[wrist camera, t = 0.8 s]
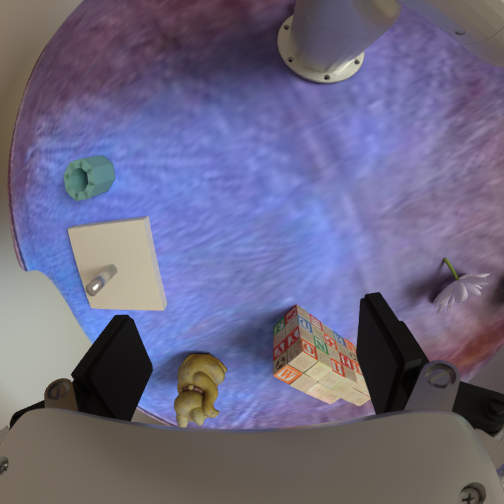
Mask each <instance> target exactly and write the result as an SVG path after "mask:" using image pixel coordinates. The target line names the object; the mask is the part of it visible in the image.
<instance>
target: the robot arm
mask: <svg viewBox="0 0 504 504" xmlns="http://www.w3.org/2000/svg"><path fill="white" fill-rule="evenodd" d="M402 5H404V6H405V7H407V8H409V9H412V10H413V11H415V12H416V13H418V14H420V15H421V16H423V17H424V18H426V19H427V20H429V21H430V22H432V23H433V24H434V25H436V26H437V27H439V28H440V29H441V30H443V31H444V32H445V33H447V34H448V35H449V36H451V37H452V38H453V39H454V40H456V41H457V42H458V43H460V44H461V45H462V46H463V47H465V48H466V49H467V50H468V51H470V52H471V53H472V54H473V55H475V56H476V57H478V58H479V59H481V60H482V61H484V62H486V63H488V64H490V65H493V66H498V67H504V0H296V5H295V10H294V14H293V15H292V16H290V17H289V18H287V19H286V20H285V22H284V23H283V24H282V26H281V27H280V29H279V33H278V37H277V45H278V50H279V53H280V56H281V58H282V59H283V61H284V63H285V64H286V65H287V66H288V67H289V68H290V69H291V70H292V71H293V72H295V73H296V74H297V75H299V76H301V77H302V78H304V79H307V80H309V81H312V82H317V83H323V84H331V83H338V82H342V81H344V80H346V79H348V78H350V77H351V76H353V75H354V74H355V73H356V72H357V71H358V70H359V69H360V67H361V65H362V63H363V60H364V52H365V49H367V48H368V47H369V46H370V45H371V44H372V43H373V42H375V41H376V40H377V39H378V38H379V37H381V36H382V35H383V34H384V33H385V32H386V31H388V30H389V29H390V28H391V27H392V26H393V25H394V24H395V23H396V21H397V20H398V18H399V15H400V12H401V6H402ZM285 28H287V29H288V30H286V29H285ZM289 60H291V61H292V62H289ZM354 62H356V63H357V65H356V64H355V63H354ZM324 77H326V78H327V80H325V79H324ZM356 356H357V360H358V363H359V366H360V369H361V371H362V374H363V377H364V380H365V383H366V386H367V389H368V392H369V395H370V398H371V401H372V404H373V407H374V410H375V413H376V415H371V416H365V417H360V418H354V419H348V420H342V421H335V422H328V423H320V424H312V425H303V426H293V427H281V428H264V429H201V428H184V427H172V426H162V425H153V424H145V423H138V422H131V419H132V417H133V414H134V412H135V410H136V407H137V405H138V403H139V401H140V398H141V396H142V394H143V391H144V389H145V387H146V385H147V382H148V380H149V378H150V376H151V373H152V370H153V367H152V363H151V361H150V359H149V356H148V354H147V352H146V350H145V347H144V345H143V342H142V340H141V338H140V335H139V333H138V330H137V328H136V325H135V322H134V320H133V319H132V318H130V317H129V315H115V316H114V317H113V319H112V320H111V321H110V322H109V324H108V325H107V326H106V328H105V329H104V330H103V331H102V333H101V334H100V335H99V337H98V338H97V339H96V341H95V342H94V343H93V345H92V346H91V347H90V349H89V350H88V352H87V353H86V354H85V356H84V357H83V358H82V360H81V361H80V363H79V364H78V365H77V366H76V368H75V369H74V371H73V372H72V374H71V376H72V377H73V379H74V380H73V382H71V381H70V380H69V379H66V378H61V379H58V380H55V381H53V382H52V383H51V384H49V386H48V387H47V388H46V390H45V394H44V398H45V400H43V401H41V402H38V403H36V404H34V405H32V406H29V407H27V408H24V409H22V410H20V411H17V412H16V413H14V415H13V416H12V419H11V421H10V428H9V427H8V426H6V427H5V428H3V429H2V430H0V504H504V394H501V393H498V392H495V391H491V390H488V389H485V388H481V387H478V386H474V385H471V384H468V383H465V382H462V381H460V373H459V370H458V369H457V368H456V367H455V366H454V365H453V364H451V363H449V362H447V361H441V360H437V361H432V362H429V360H428V358H427V357H426V355H425V354H424V352H423V350H422V349H421V347H420V346H419V344H418V343H417V341H416V339H415V338H414V336H413V335H412V333H411V332H410V330H409V329H408V327H407V326H406V324H405V323H404V322H403V321H399V320H398V319H397V317H396V316H395V314H394V313H393V311H392V310H391V308H390V307H389V305H388V304H387V302H386V301H385V299H384V298H383V296H382V295H381V293H380V292H377V293H370V294H366V295H365V297H364V298H361V300H360V312H359V326H358V337H357V347H356Z"/></svg>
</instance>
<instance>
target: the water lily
mask: <svg viewBox="0 0 504 504" xmlns="http://www.w3.org/2000/svg"><path fill="white" fill-rule="evenodd" d="M444 261H445V263H446V264H447V265H448V267H449V268H450V270H451V271H452V273H453V275H454V277H455V279H456V281H454V282H453V283H451V284H450V285H448V286H447V287H446V288H445V289H443V290H442V291H441V292H440V293H439V295H438V296H437V297H436V298H435V300H434V301H433V303H434V302H436V301H437V300H438V301H437V303H436V305H435V307H437V306H439V305H440V306H439V308H438V310H437V313H436V315H437V314H438V313H439V312H440V311H441V310H442V309H443V308H444V307H445V305H446V304H447V302H448V307H447V311H448V310H449V309H450V308H451V306H452V304H453V303H454V300H455V302H456V303H461V302H462V301H465V300H466V299H467V297H468V293H467V292H470V293H471V294H474V295H481V293H480V292H479V290H478V289H482V288H481V287H480V286H479V285H488V283H486V282H483V281H485V280H487V279H486V278H483V277H486V276H488V275H490V274H486V273H482V274H474V275H471V274H466V275H463V276H461V277H460V278H458V276H457V274H456V272H455V271H454V269H453V267H452V266H451V264H450V263H449V261H448V260H447V259H446V258H445V259H444ZM435 307H434V308H435Z"/></svg>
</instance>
